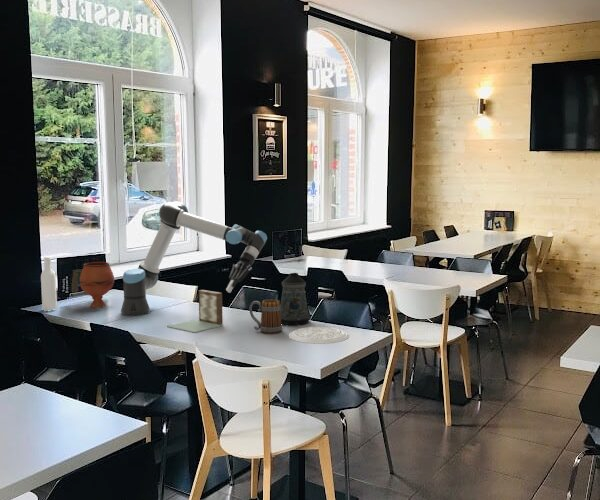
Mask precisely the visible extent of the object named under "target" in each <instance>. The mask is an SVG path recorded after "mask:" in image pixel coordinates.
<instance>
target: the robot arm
mask: <svg viewBox="0 0 600 500" xmlns="http://www.w3.org/2000/svg"><path fill="white" fill-rule="evenodd" d="M158 216H159V219H160V220H159V221H160V227H159V229H158V231H157V233H156V235H155V237H154V239H153V241H152V243H151V245H150V247H149V250H148V252H147V255H146V256H145V258H144V261H142V262H140V263H139V265H138V266H137V268H132V269H128V270H125V271H124V272H123V277H122V280H123V281H122V282H123V283H122V284H123V302H122V305H121V309H120V314H122V315H123V316H141V315H147V314H150V312H151V311H150V306H149V303H148V300H147V291H146V290H149V289H151V288H153V287H154V286H155V285H156V284H157V283H158V282H159V281H158V280H159V274H160V265H161V263H162V261H163V258H164V256H165V254H166V252H167V250H168V248H169V246H170V244H171V242H172V239H173V237H174V235H175V233H176V231H179V230H180V228H181V227H184V228H187V229H190V230H191V231H192V230H193V231H195V232H199V233H202V234H204V235H207V236H211V237H214V238H216V239H221V240H223V241H226V242H227V243H229V244H231V245H237V244H239V243H243V244H245V245H247V246H246V247H245V249H244V251H243V252H242V253H241V256H240V257H239V261H238V262H237V263H236V264H235V263H233V264H232V269H231V271H230V273H229V276H228V279H229V282H228V283H227V287H226V288H225V291H226V292H227V293H229V294H230V293H232V290H233V289H234V288H235V286H237V284H238V283H241V282H243V280H244V279H245V278H246V276H248V274H249V273H250V272H251V271H253V267H252V266H253V264H254V262H255V260H256V259H257V258H258V256H259V254H260V253H261V251H262V249H263V247H264V246H265V244H266V242H267V240H268V236H267V234H266V233H265V232H264V231H262V230H256V231H255V232H253V231H251V230H249V229H247V228H245V227H243V226H241V225H240V224H239V225H238V224H236V223H235V224H233V226H232V227H230V226H227V225H225V224H222V223H218V222H217V221H212V220H210V219H207V218H203V217H201V216H197V215H194V214H191V213H189V209H188V207H187V205H186V204H184V203H183V202H181V201H173V202H165V203H164V204H162V205H161V206H160V208H159V211H158Z"/></svg>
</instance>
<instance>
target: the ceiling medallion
mask: <svg viewBox="0 0 600 500" xmlns="http://www.w3.org/2000/svg"><path fill="white" fill-rule="evenodd" d="M288 337H289V339H290V340H293V341H294V342H295V341H296V342H297V343H303V344H305V343H306V344H323V345H324V344H334V343H339V342H343V341H345V340H348V339H349V337H350V335H349V333H348V332H346V331H345V330H342V329H340V328H336V327H331V326H308V327H301V328H297V329H295V330H293V331H291V332H290V333H289V334H288Z"/></svg>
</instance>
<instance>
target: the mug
mask: <svg viewBox="0 0 600 500" xmlns="http://www.w3.org/2000/svg"><path fill="white" fill-rule="evenodd" d="M255 304H257V305H259V308H258V309H257V311H258V312H260V313H261V318H260V321H259V319H258V318H256V317H255V315H254V313H253V305H255ZM280 305H281V301H280V300H279V299H273V298H271V299H270V298H269V299H263V300H262V302H261V301H258V300H253V301H252V302H251V303H250V305H249V307H248V308H249V314H250V317H251V318H252V320H253V321H254V322H255V323H256V324H257V325H254V327H253V328H254V329H255V331H260V333H262V334H265V335H277V334H280V333H281V332H282V331H283V327H282V326H283V325H281V313H280Z"/></svg>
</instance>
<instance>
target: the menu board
mask: <svg viewBox="0 0 600 500" xmlns="http://www.w3.org/2000/svg"><path fill="white" fill-rule="evenodd" d="M223 319H224V317H223V292H219V291H213V290H206V289H200V290H198V321H203V322H208V323H213V324H218V325H221V326H222V325H223V324H224V323H223Z"/></svg>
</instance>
